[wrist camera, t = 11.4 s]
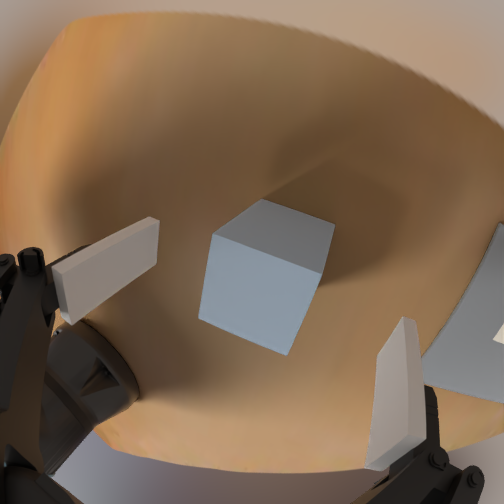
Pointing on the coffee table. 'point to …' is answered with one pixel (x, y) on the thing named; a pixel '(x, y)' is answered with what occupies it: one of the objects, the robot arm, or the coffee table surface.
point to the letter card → (473, 334)
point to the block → (265, 273)
